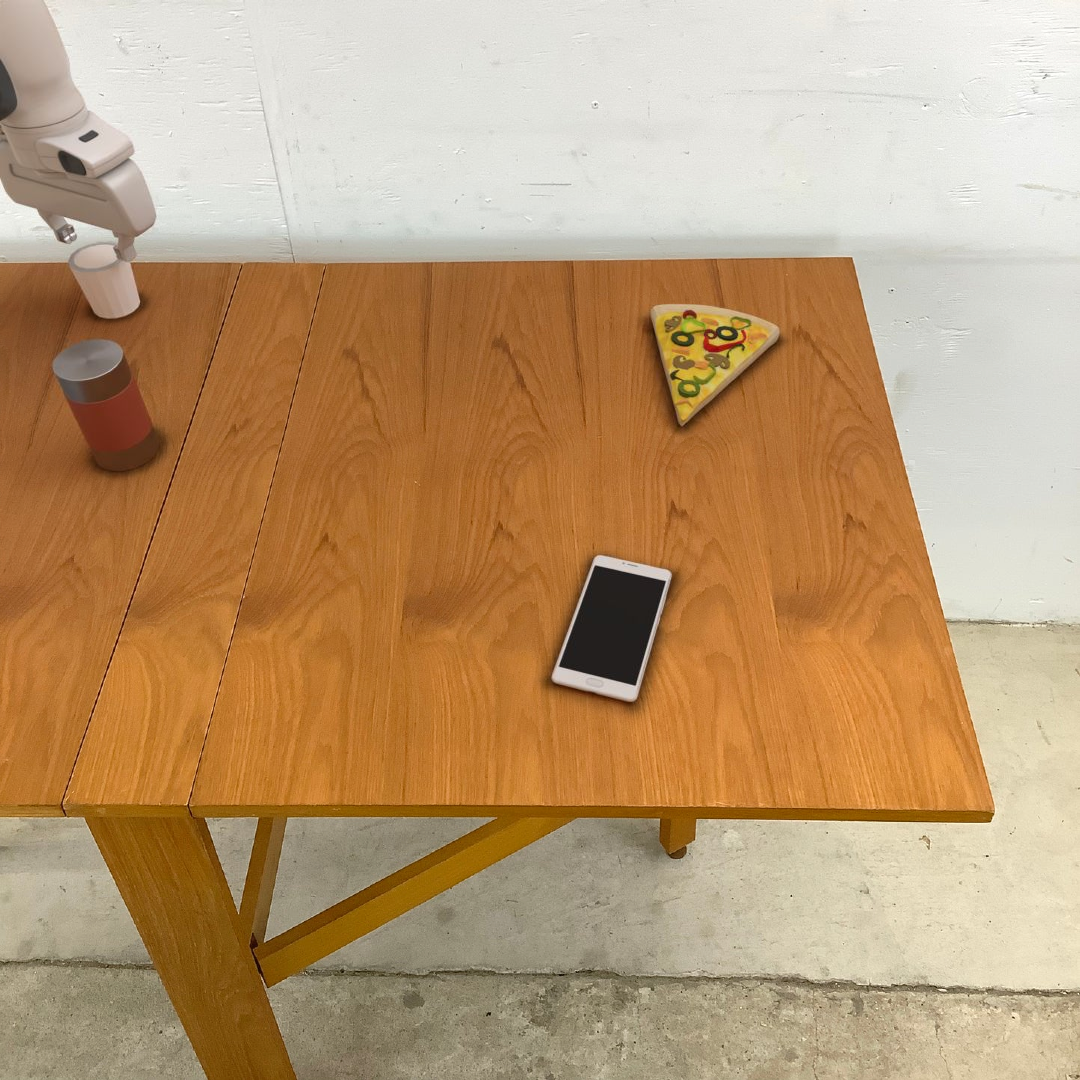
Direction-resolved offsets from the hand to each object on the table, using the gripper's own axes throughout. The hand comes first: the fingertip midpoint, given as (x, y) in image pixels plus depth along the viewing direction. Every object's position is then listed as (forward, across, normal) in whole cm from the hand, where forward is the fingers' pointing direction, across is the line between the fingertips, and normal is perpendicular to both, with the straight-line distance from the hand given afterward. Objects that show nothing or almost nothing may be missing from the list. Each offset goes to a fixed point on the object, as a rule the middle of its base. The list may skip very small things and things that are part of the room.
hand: (97, 249), depth 117 cm
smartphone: (+8, +76, -19) cm, 79 cm away
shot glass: (+8, 0, 0) cm, 8 cm away
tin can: (+8, +20, -20) cm, 29 cm away
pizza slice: (+9, +70, +19) cm, 73 cm away
